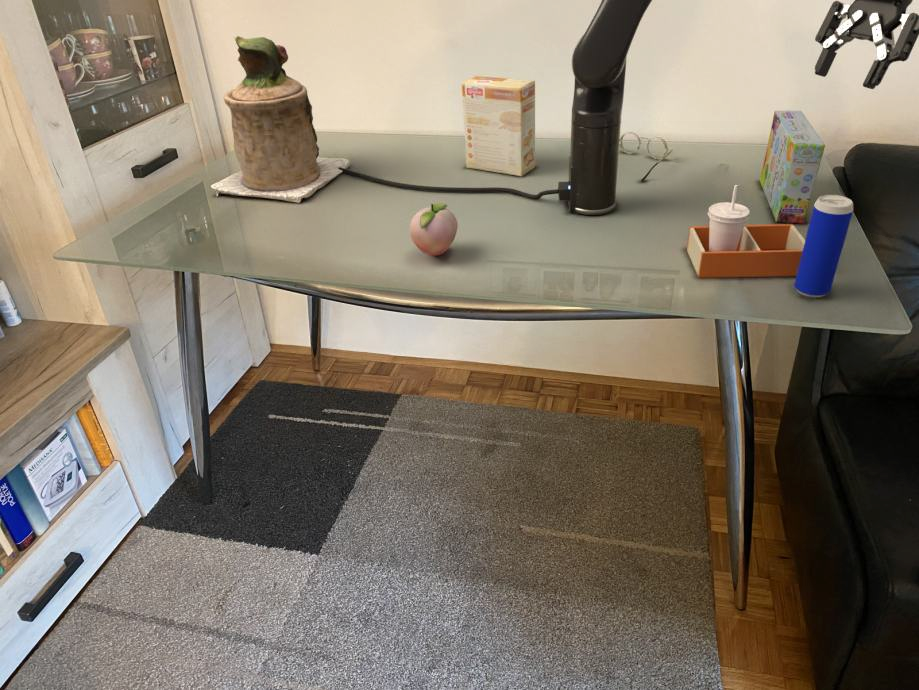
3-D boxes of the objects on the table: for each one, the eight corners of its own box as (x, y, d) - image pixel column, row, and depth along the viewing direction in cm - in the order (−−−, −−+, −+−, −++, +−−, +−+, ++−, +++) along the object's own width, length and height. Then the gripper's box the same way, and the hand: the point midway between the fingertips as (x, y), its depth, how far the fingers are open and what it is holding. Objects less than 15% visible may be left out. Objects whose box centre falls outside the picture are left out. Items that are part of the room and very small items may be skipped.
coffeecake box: (536, 167, 160) (536, 79, 149) (521, 177, 155) (520, 88, 144) (480, 158, 167) (477, 74, 156) (465, 168, 162) (460, 82, 151)
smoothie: (719, 275, 113) (734, 195, 105) (692, 260, 118) (703, 182, 110) (748, 265, 116) (764, 185, 108) (720, 250, 120) (733, 174, 113)
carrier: (698, 277, 113) (702, 253, 111) (686, 249, 122) (689, 226, 119) (807, 276, 112) (813, 251, 109) (787, 247, 120) (792, 223, 117)
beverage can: (829, 285, 109) (855, 196, 100) (829, 301, 105) (855, 209, 96) (794, 280, 111) (816, 192, 102) (792, 295, 107) (815, 205, 98)
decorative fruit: (422, 242, 130) (417, 192, 125) (463, 245, 128) (460, 194, 123) (405, 265, 123) (399, 213, 117) (448, 269, 121) (444, 216, 115)
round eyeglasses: (677, 162, 157) (679, 140, 154) (644, 183, 148) (646, 160, 145) (612, 149, 167) (613, 128, 164) (577, 168, 157) (578, 146, 155)
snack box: (807, 224, 127) (827, 144, 118) (774, 223, 128) (792, 143, 119) (786, 181, 144) (802, 108, 135) (757, 181, 145) (772, 108, 136)
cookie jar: (304, 205, 149) (272, 47, 131) (209, 197, 156) (167, 47, 138) (353, 165, 168) (332, 23, 150) (267, 159, 175) (236, 23, 157)
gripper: (841, -47, 101) (790, 67, 108) (934, -39, 91) (871, 87, 98) (869, -33, 105) (818, 76, 112) (961, -23, 95) (899, 96, 102)
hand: (843, 81), depth 105 cm, fingers open, 8 cm apart
